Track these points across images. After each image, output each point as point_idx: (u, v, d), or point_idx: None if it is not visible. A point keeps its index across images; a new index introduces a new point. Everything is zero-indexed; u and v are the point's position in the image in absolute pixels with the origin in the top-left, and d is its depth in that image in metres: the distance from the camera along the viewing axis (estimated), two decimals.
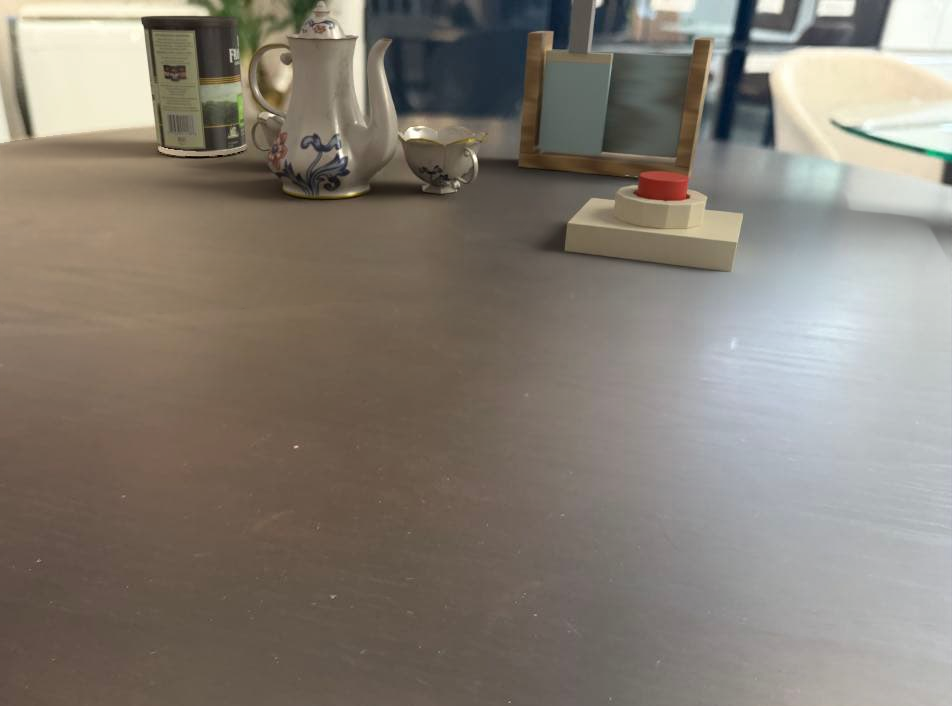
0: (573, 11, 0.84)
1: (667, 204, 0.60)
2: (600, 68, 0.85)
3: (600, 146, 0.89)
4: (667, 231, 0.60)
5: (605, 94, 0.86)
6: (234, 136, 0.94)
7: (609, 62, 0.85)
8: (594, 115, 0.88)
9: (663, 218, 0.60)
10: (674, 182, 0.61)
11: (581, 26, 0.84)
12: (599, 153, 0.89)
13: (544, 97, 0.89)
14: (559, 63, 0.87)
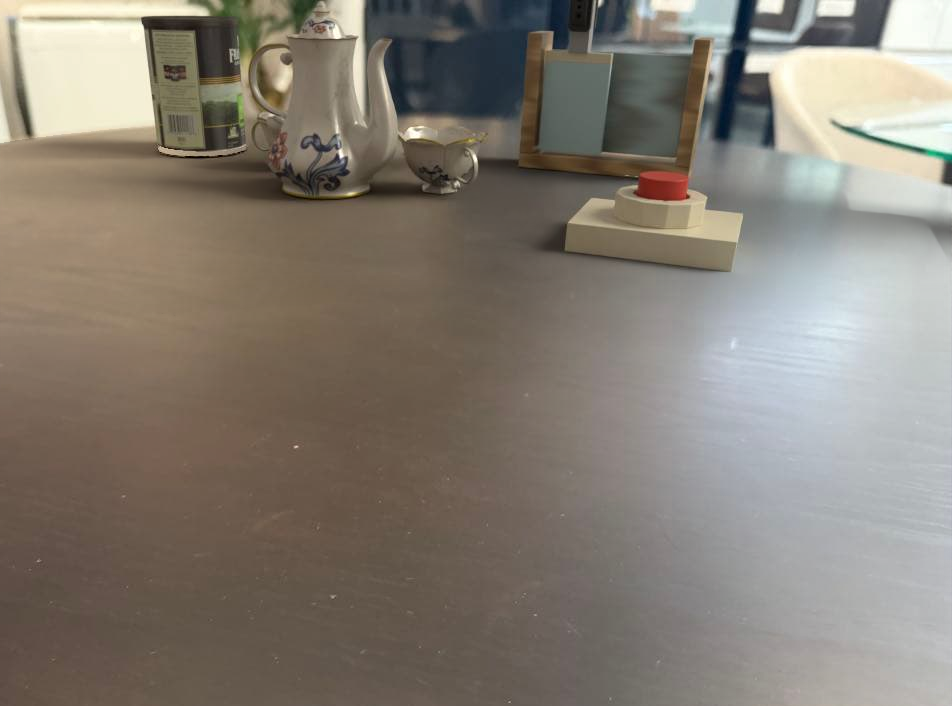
0: None
1: (667, 204, 0.60)
2: (600, 68, 0.85)
3: (600, 146, 0.89)
4: (667, 231, 0.60)
5: (605, 94, 0.86)
6: (234, 136, 0.94)
7: (609, 62, 0.85)
8: (594, 115, 0.88)
9: (663, 218, 0.60)
10: (674, 182, 0.61)
11: None
12: (599, 153, 0.89)
13: (544, 97, 0.89)
14: (559, 63, 0.87)
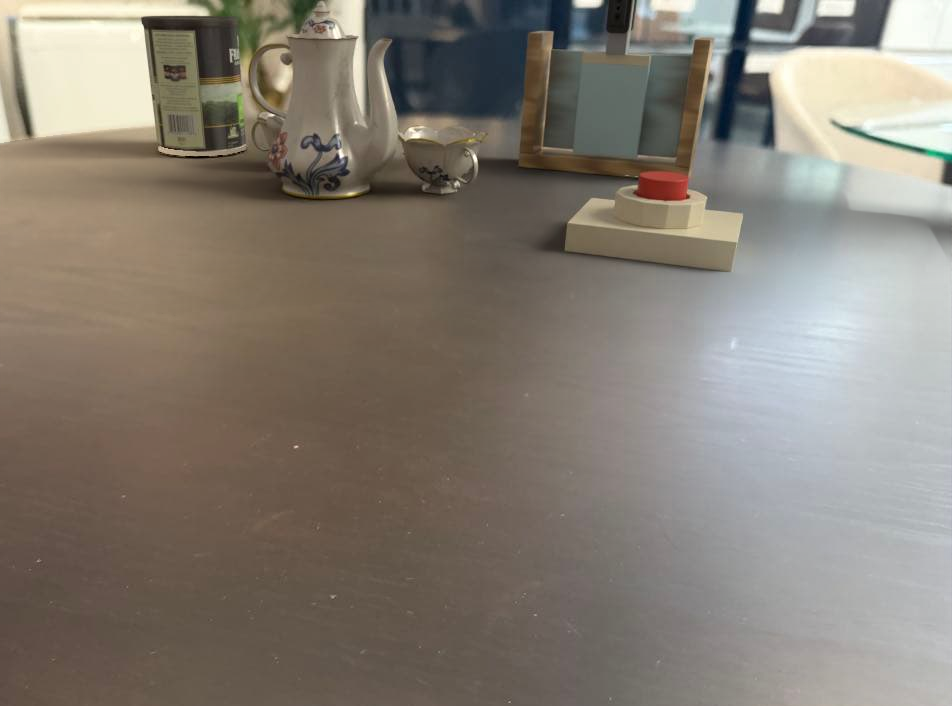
0: None
1: (667, 204, 0.60)
2: (638, 70, 0.84)
3: (636, 149, 0.87)
4: (667, 231, 0.60)
5: (642, 96, 0.85)
6: (234, 136, 0.94)
7: (647, 64, 0.84)
8: (631, 118, 0.86)
9: (663, 218, 0.60)
10: (674, 182, 0.61)
11: None
12: (635, 156, 0.88)
13: (580, 99, 0.87)
14: (596, 65, 0.86)
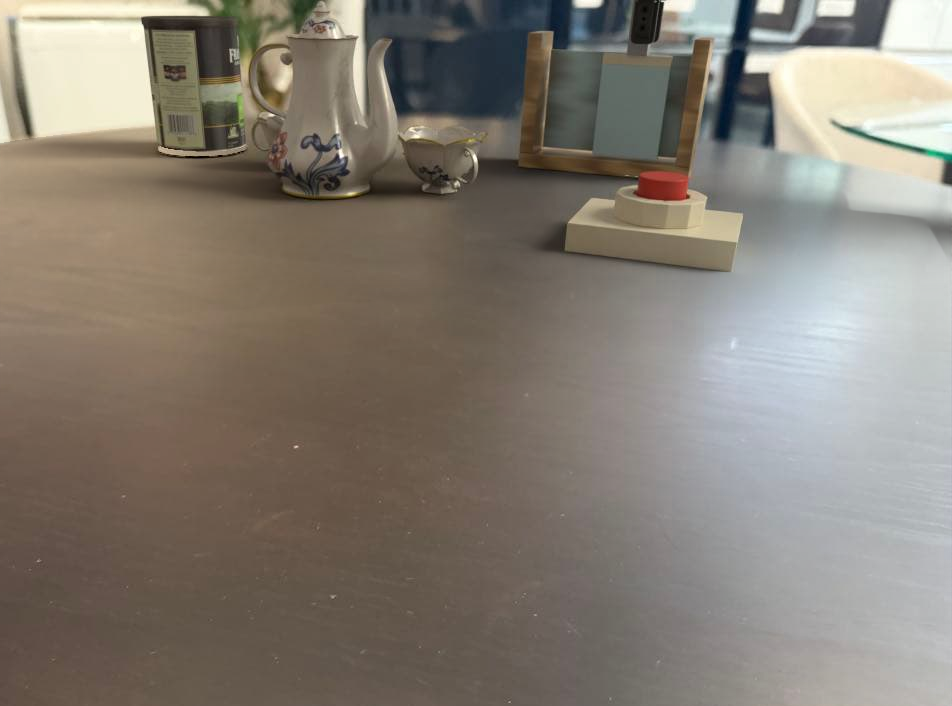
0: (633, 13, 0.82)
1: (667, 204, 0.60)
2: (659, 71, 0.84)
3: (657, 151, 0.87)
4: (667, 231, 0.60)
5: (664, 98, 0.84)
6: (234, 136, 0.94)
7: (669, 65, 0.83)
8: (652, 119, 0.86)
9: (663, 218, 0.60)
10: (674, 182, 0.61)
11: None
12: (656, 158, 0.87)
13: (600, 101, 0.87)
14: (616, 66, 0.85)
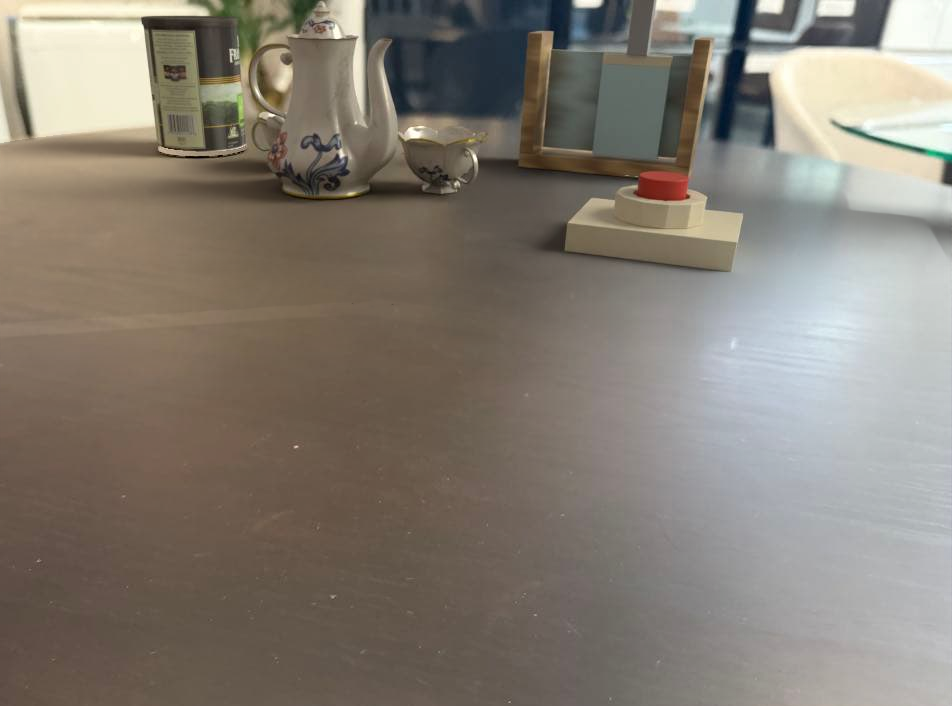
0: (633, 13, 0.82)
1: (667, 204, 0.60)
2: (659, 71, 0.84)
3: (657, 151, 0.87)
4: (667, 231, 0.60)
5: (664, 98, 0.84)
6: (234, 136, 0.94)
7: (669, 65, 0.83)
8: (652, 119, 0.86)
9: (663, 218, 0.60)
10: (674, 182, 0.61)
11: (641, 28, 0.82)
12: (656, 158, 0.87)
13: (600, 101, 0.87)
14: (616, 66, 0.85)
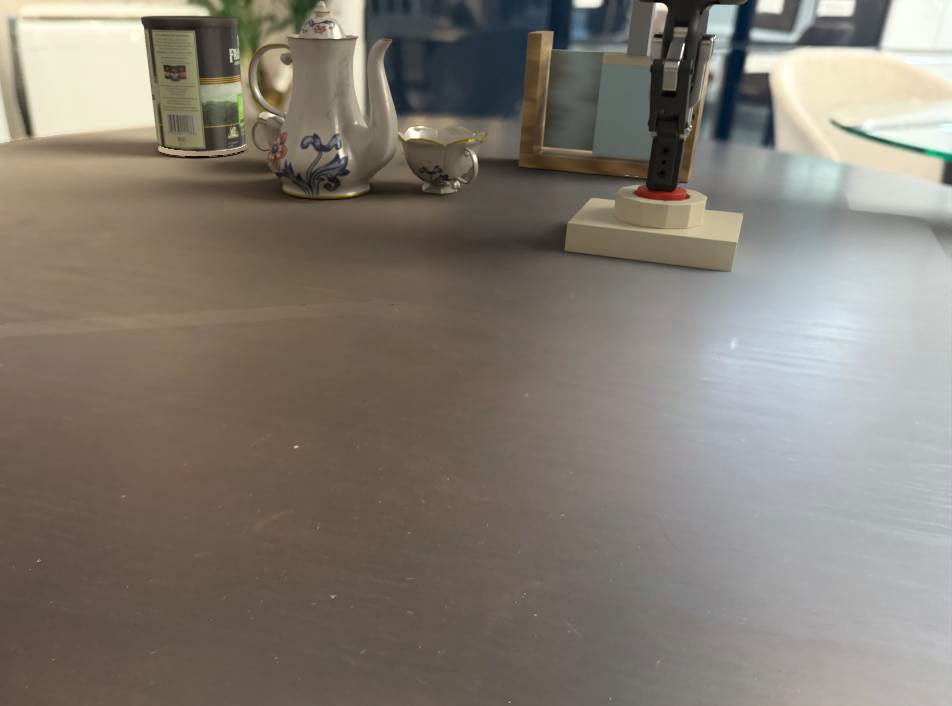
0: (633, 13, 0.82)
1: (667, 204, 0.60)
2: None
3: None
4: (667, 231, 0.60)
5: None
6: (234, 136, 0.94)
7: None
8: None
9: (663, 218, 0.60)
10: (671, 195, 0.61)
11: (641, 28, 0.82)
12: None
13: (600, 101, 0.87)
14: (616, 66, 0.85)
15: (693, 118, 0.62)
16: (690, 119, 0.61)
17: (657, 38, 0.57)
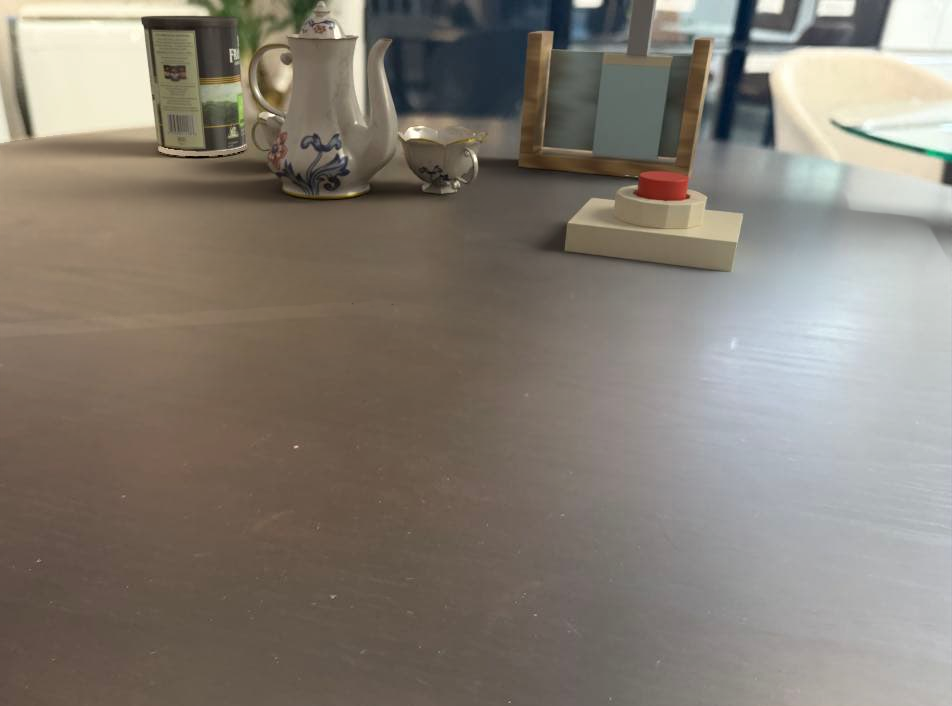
0: (633, 13, 0.82)
1: (667, 204, 0.60)
2: (659, 71, 0.84)
3: (657, 151, 0.87)
4: (667, 231, 0.60)
5: (664, 98, 0.84)
6: (234, 136, 0.94)
7: (669, 65, 0.83)
8: (652, 119, 0.86)
9: (663, 218, 0.60)
10: (674, 182, 0.61)
11: (641, 28, 0.82)
12: (656, 158, 0.87)
13: (600, 101, 0.87)
14: (616, 66, 0.85)
15: None
16: None
17: None
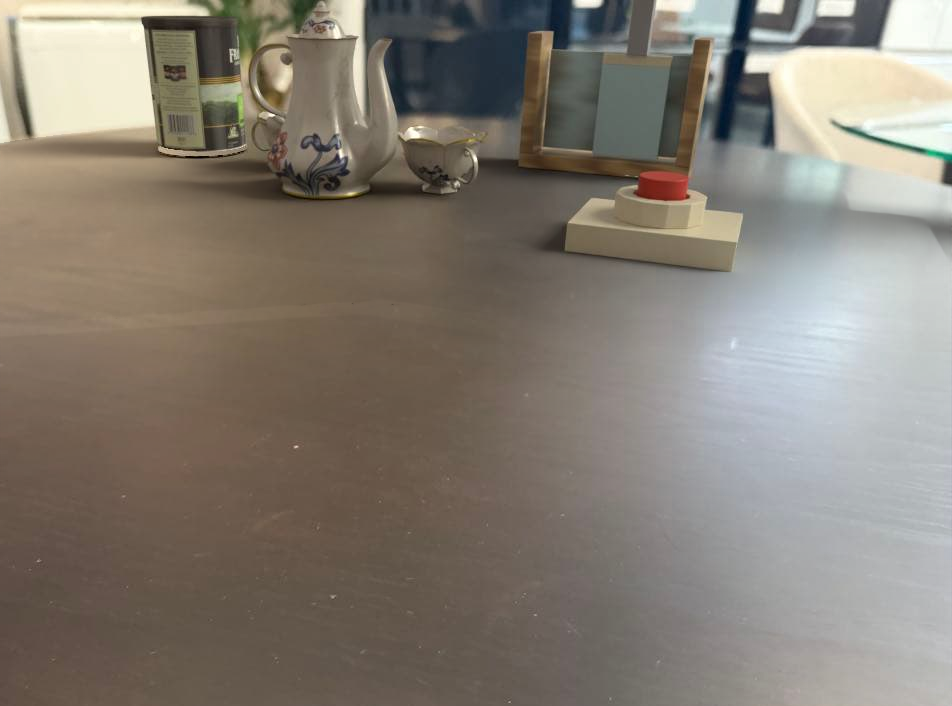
0: (633, 13, 0.82)
1: (667, 204, 0.60)
2: (659, 71, 0.84)
3: (657, 151, 0.87)
4: (667, 231, 0.60)
5: (664, 98, 0.84)
6: (234, 136, 0.94)
7: (669, 65, 0.83)
8: (652, 119, 0.86)
9: (663, 218, 0.60)
10: (674, 182, 0.61)
11: (641, 28, 0.82)
12: (656, 158, 0.87)
13: (600, 101, 0.87)
14: (616, 66, 0.85)
15: None
16: None
17: None
